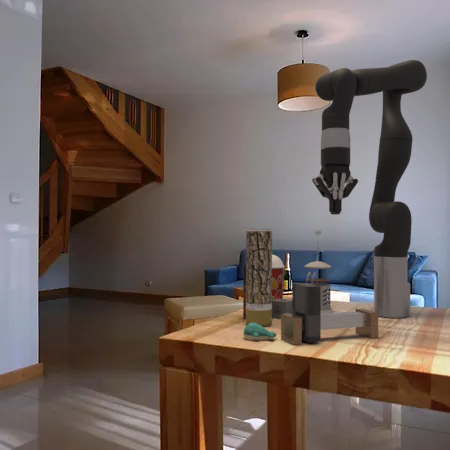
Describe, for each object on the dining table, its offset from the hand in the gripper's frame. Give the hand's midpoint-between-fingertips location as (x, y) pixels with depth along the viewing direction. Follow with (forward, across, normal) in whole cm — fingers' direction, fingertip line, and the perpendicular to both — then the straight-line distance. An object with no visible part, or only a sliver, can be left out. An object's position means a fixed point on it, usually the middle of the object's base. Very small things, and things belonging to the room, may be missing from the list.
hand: (335, 214), depth 123 cm
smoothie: (+29, +6, -26) cm, 40 cm away
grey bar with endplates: (+29, +9, +12) cm, 33 cm away
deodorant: (+29, +16, -16) cm, 37 cm away
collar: (+29, +15, +12) cm, 35 cm away
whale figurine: (+29, +25, +7) cm, 39 cm away
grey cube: (+29, +8, -15) cm, 34 cm away
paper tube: (+29, +18, -8) cm, 35 cm away
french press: (+29, -7, -21) cm, 37 cm away
